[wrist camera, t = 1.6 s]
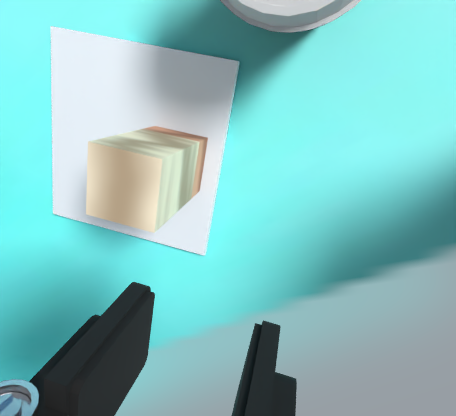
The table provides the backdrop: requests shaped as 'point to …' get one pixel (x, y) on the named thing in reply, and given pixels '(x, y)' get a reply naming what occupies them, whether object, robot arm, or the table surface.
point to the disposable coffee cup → (289, 13)
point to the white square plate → (136, 119)
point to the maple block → (143, 175)
